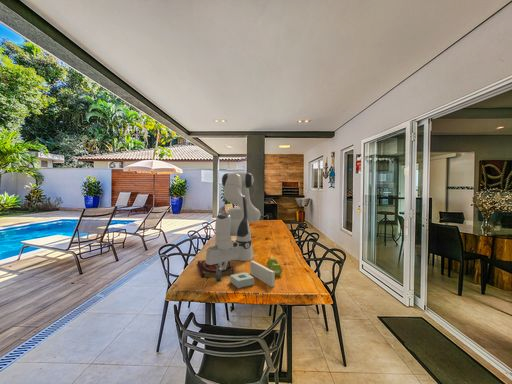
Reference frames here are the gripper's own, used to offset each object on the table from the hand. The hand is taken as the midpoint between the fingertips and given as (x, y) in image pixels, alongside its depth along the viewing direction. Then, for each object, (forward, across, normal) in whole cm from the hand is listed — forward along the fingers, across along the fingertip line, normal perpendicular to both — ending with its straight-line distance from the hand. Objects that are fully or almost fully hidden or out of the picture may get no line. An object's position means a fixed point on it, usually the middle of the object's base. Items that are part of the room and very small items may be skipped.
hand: (222, 269), depth 137 cm
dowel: (+10, +5, +11) cm, 15 cm away
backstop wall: (+10, +25, -5) cm, 27 cm away
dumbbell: (+10, +40, -1) cm, 41 cm away
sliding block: (+10, +12, -2) cm, 16 cm away
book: (+10, +15, +30) cm, 35 cm away
